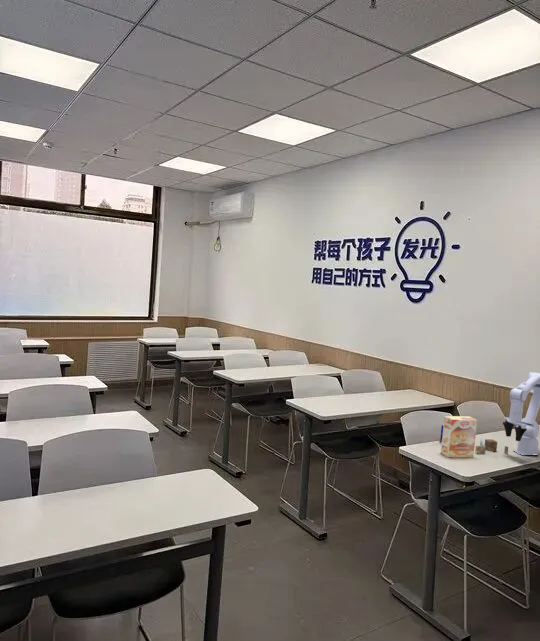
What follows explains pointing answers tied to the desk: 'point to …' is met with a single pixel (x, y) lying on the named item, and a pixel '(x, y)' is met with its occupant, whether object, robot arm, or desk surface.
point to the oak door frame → (480, 449)
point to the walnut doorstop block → (490, 445)
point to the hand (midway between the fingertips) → (513, 438)
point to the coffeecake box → (458, 436)
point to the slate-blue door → (483, 446)
